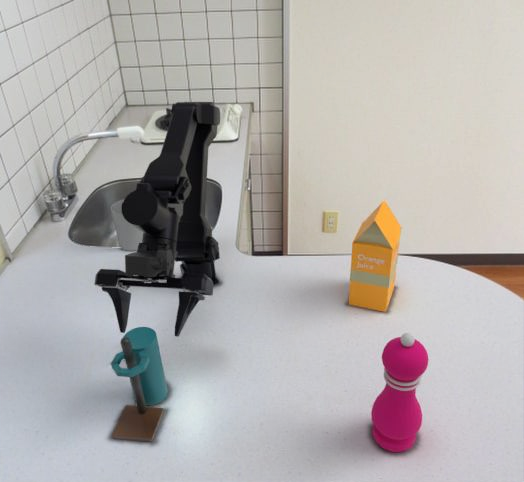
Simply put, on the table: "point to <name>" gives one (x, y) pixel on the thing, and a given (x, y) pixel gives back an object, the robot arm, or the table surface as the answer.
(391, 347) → the pepper mill
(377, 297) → the orange juice
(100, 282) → the robot arm
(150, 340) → the jug
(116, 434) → the peg stand
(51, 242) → the table surface
